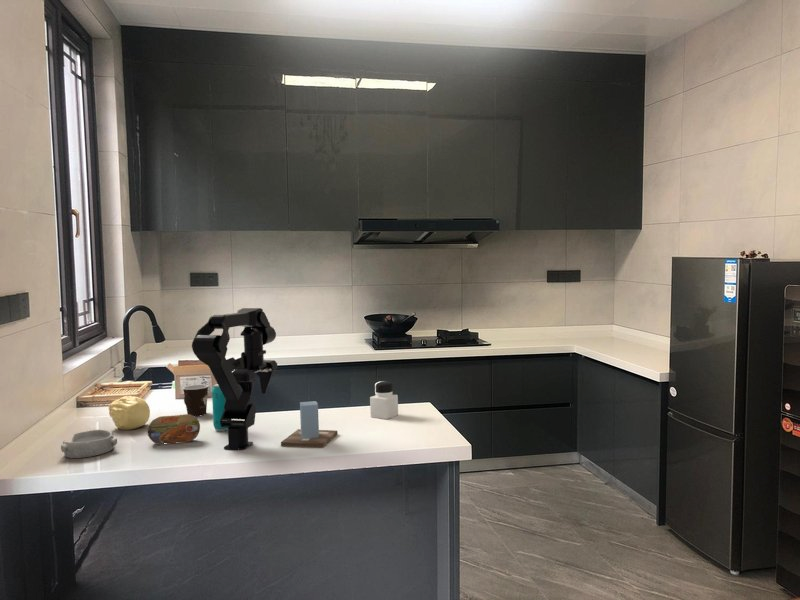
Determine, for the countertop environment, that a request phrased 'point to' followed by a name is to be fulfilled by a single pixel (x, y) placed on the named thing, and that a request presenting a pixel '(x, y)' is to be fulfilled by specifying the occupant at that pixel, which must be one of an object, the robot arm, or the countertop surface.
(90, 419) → the countertop surface
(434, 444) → the countertop surface
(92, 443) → the dish
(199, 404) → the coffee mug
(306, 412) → the slate-blue block
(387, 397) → the medicine bottle
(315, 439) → the board
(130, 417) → the sculpture
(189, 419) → the tin
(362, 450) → the countertop surface
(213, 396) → the beverage can
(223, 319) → the robot arm
